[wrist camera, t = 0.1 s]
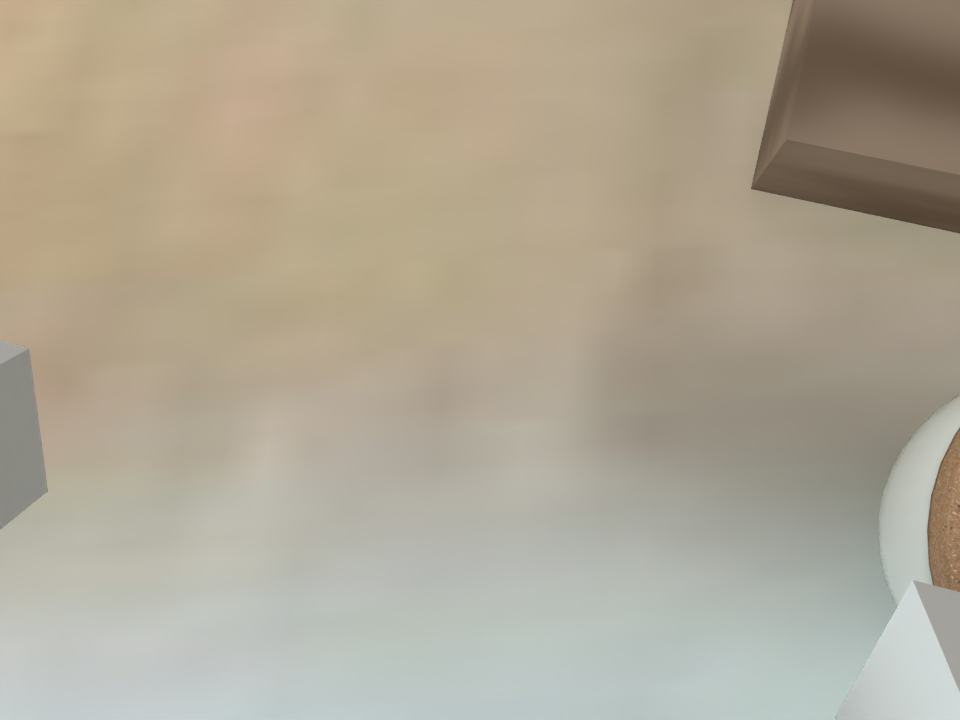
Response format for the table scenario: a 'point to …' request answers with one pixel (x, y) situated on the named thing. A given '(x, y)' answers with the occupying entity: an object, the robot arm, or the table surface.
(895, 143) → the riser block
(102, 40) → the table surface
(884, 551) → the lidded jar
